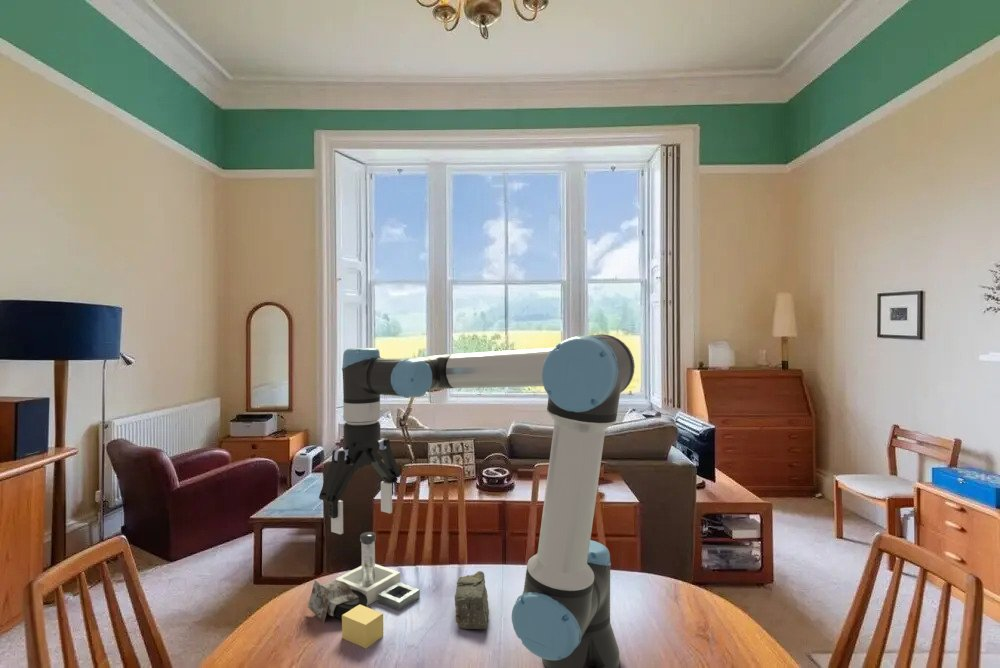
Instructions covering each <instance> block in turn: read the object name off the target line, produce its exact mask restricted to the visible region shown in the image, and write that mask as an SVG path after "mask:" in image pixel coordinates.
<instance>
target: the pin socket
mask: <svg viewBox="0 0 1000 668" xmlns="http://www.w3.org/2000/svg"><path fill="white" fill-rule="evenodd" d="M420 590H421V589H420V588H416V587H414V586H412V585H408V584H406V583H403V582H401V581H400V582H398V583H396V584H394V585H392V586H391V587H389V588H387V589H386V590H384V591H382V592H380V593H379V594H378V600H377V603H378V604H381V605H384V606H386V607H389V608H390V609H393V610H395V611H398V612H400V611H401V610H403V609H404V608H406V607H408V606H409V605H410V604H412V603H414V602H415V601H417V600H418V599H420V596H421V594H420V592H421V591H420ZM397 595H402V596H401V597H397Z"/></svg>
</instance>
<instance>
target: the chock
mask: <svg viewBox="0 0 1000 668" xmlns="http://www.w3.org/2000/svg"><path fill="white" fill-rule="evenodd" d="M341 630H342V631H341V634H342V635H341V638H342V639H343V640H346V641H348V642H351V643H353V644H356V645H357V646H360V647H362V648H364V649H368V648H369V647H370V646H371V645H373V644H374V643H376V642H377V641H379V640H380V639H381V638H383V637H384V613H383V612H380V611H378V610H376V609H373V608H370V607H369V606H366V607H365V606H363V605H360V604H359V605H358V606H356V607H355V608H353V609H351V610H350V611H348V612H346V613H345V614H343V615H342V619H341Z"/></svg>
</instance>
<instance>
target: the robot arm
mask: <svg viewBox="0 0 1000 668" xmlns="http://www.w3.org/2000/svg"><path fill="white" fill-rule="evenodd" d="M635 367H636V366H635V360H634V356H633V354H632V352H631V350H630V348H629V347H628V346H627V345H626V343H625V342H624V341H622V340H621V339H619V338H617V337H616V336H613V335H610V334H588V335H587V334H585V335H584V334H579V335H574V336H572V337H569V338H567V339H564V340H563V341H561V342H559V343H557V345H555V346H554V347H547V348H546V347H545V348H531V349H528V348H527V349H513V350H510V349H509V350H497V351H480V352H478V351H477V352H465V353H462V352H461V353H452V354H450V353H449V354H448V353H447V354H446V353H440V354H433V355H426V356H425V355H424V356H414V357H413V356H412V357H403V358H384V357H383V358H382V357H381V354H380V350H379V349H378V347H377V348H376V347H354V348H347V349H345V350H344V351H343V356H342V368H341V371H342V391H343V392H342V393H343V395H342V396H343V397H342V399H343V400H342V403H343V404H342V405H343V406H342V407H343V408H342V410H343V411H342V412H343V421H344V422H345V423H344V424H343V426H342V427H343V441H344V443H345V448H344V449H340V450H339V449H333V450H332V453H331V461H330V464H329V468H328V470H327V473H326V476H325V479H324V482H323V484H322V487H321V490H320V493H319V496H318V499H319V500H320V501H323V502H324V501H325V502H327V503H328V504H327V505H328V506H327V507H328V511H327V512H328V514H327V515H328V517H329V518H330V531H331V533H335V534H337V535H342V534H344V501H343V500H341V498H342V496H343V494H344V492H345V490H346V488H347V487H348V485H349V483H350V481H351V479H352V477H353V476H354V474H355V473H356V472H358V469H359V468H364V467H365V466H370V465H371V466H372V467H373V469H374V470H375V471H376V472H377V473H378V474H379V476H380V477H381V479H382V481H380V512H381V513H382V512H383V513H387V514H392V513H393V496H394V492H395V491H394V490H395V489H394V483H395V484H396V483H397V482H398V478H400V477H401V474H402V473H401V471H400V468H399V466H398V464H397V460H396V459H395V455H394V454H393V451H392V449H391V441H390V439H388V438H383V437H381V422H380V421H379V420H380V419H381V395H382V396H383V395H384V396H393V397H394V396H395V397H404V398H420V397H423V396H425V395H426V394H427V392H428V391H432V390H433V391H434V390H441V389H443V390H445V389H446V390H447V389H448V390H449V389H473V388H474V389H475V388H478V389H479V388H518V387H519V388H520V387H521V388H522V387H524V388H527V387H543V388H544V390H545V392H546V394H547V395H548V398H547V407H546V412H547V414H548V415H549V416H550V418H551V419H552V420H553V431H552V439H551V447H550V452H549V454H550V455H549V461H548V469H547V478H546V486H545V493H544V501H543V508H542V515H541V524H540V531H539V539H538V540H539V541H538V548H537V553H536V554H534V555H533V556H531V557H530V558H529V559H528V561H527V564H526V570H525V578H524V586H523V591H522V593H521V595H519V596H518V597H517V598H516V600H515V603H514V605H513V607H512V611H511V623H512V627H513V630H514V633H515V635H516V637H517V638H518V639H519V640H521V644H522V645H523V646H524V648H526V650H528V651H529V652H530V653H532V654H533V655H535V656H537V657H538V658H540V659H541V660H542V662H543V663H542V664H543V665H544V667H545V668H619V667H620V650H619V646H618V642H617V638H616V636H615V634H614V633H615V632H614V629H613V628H612V624H611V566H612V562H611V555H610V551H609V549H608V547H607V546H605V545H604V544H602V543H600V542H599V541H595V540H592V539H591V537H592V530H593V522H594V516H595V509H596V500H597V493H598V487H599V480H600V479H599V478H600V473H601V464H602V456H603V450H604V443H605V442H604V441H605V434H606V431H607V429H609V427H611V426H612V425H614V424H616V422H617V416H618V409H619V404H620V403H619V402H620V396H621V393H622V392H624V391H625V390H626V389H627V388H628V387H629V385H630V384H631V382H632V380H633V378H634V374H635ZM378 452H379V453H378ZM379 454H380V455H379Z"/></svg>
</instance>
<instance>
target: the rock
mask: <svg viewBox="0 0 1000 668" xmlns="http://www.w3.org/2000/svg"><path fill="white" fill-rule="evenodd" d="M485 578H486V577H485V574H484V571H482V570H480V571H477V572H475V573H474V574H471V575H469V574H467V575H465V576H460V577H459V578H458V579H457V582H456V590H455V594H454V606H455V618H454V620H455V623H457V625H458V627H460V628H461V629H467V630H476V629H477V630H486V629H487V628H488V627H489V626H488V623H489V614H490V613H489V612H490V610H489V601H488V591H487V588H486V580H485Z"/></svg>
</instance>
